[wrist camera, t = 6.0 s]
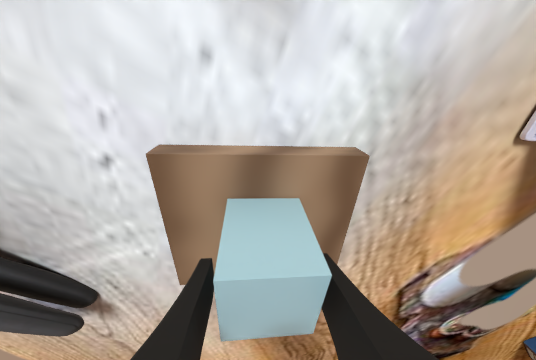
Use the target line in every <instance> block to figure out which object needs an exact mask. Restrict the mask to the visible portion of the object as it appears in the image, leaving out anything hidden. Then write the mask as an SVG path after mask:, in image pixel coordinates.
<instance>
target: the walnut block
mask: <svg viewBox="0 0 536 360" xmlns="http://www.w3.org/2000/svg"><path fill="white" fill-rule="evenodd" d="M146 157H147V161H148V165H149V168H150V172H151V176H152V180H153V184H154V188H155V191H156V195H157V199H158V203H159V207H160V211H161V214H162V218H163V222H164V226H165V230H166V233H167V237H168V241H169V245H170V249H171V253H172V256H173V260H174V264H175V268H176V272H177V275H178V279H179V283H180V285H186V284H187V282H188V280H189V279H190V277H191V275H192V273H193V272H194V270H195V268H196V266H197V264H198V262H199V260H200V259H201V258H212V262H213V270H214V274H215V268H216V262H217V257H218V251H219V245H220V239H221V234H222V228H223V222H224V216H225V211H226V205H227V199H257V198H299V199H300V201H301V204H302V206H303V208H304V211H305V213H306V215H307V218H308V220H309V223H310V225H311V227H312V230H313V232H314V234H315V237H316V239H317V241H318V244H319V246H320V248H321V251H322V253H327V254H328V255H329V256H330V257H331V259H332V260H333V261H334V262H335V263H336V265H337V263H338V259H339V256H340V253H341V249H342V246H343V243H344V240H345V236H346V233H347V230H348V226H349V223H350V220H351V216H352V213H353V210H354V206H355V203H356V200H357V196H358V193H359V190H360V186H361V183H362V180H363V176H364V173H365V170H366V166H367V163H368V160H369V155H367V154H366V153H364V152H362V151H361V150H359V149H357V148H356V147H293V146H220V145H158V146H156V147H155V148H153V149H152V150H151V151H149V152H148V153H146Z"/></svg>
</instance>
